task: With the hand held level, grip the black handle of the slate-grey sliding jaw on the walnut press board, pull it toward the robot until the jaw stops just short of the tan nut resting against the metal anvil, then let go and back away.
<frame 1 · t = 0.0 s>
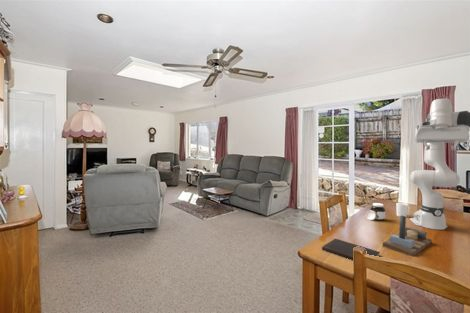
hand: (440, 149, 114), 54 cm above the table, tool tilted 30°, fingers open, 8 cm apart
white cup: (401, 216, 183), on the table
spread jar: (375, 219, 174), on the table
jaw carriage: (402, 230, 125), point 10 cm above the table, slide at 0.0 cm
press board: (407, 244, 130), on the table
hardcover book: (350, 253, 121), on the table
nut: (412, 238, 134), point 2 cm above the table, touching press board
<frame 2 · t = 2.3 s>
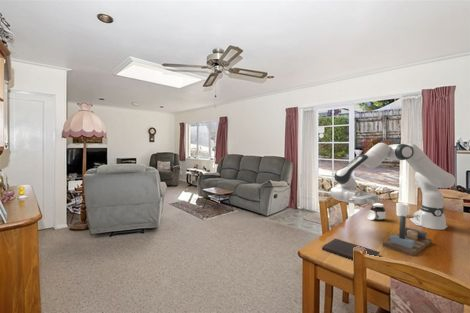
hand: (378, 201, 134), 23 cm above the table, tool horizontal, fingers open, 8 cm apart
nothing on the table moved.
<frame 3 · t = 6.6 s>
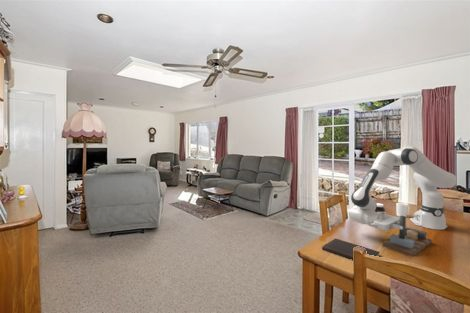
hand: (404, 227, 124), 12 cm above the table, tool horizontal, fingers closed on jaw carriage, 3 cm apart
jaw carriage: (402, 230, 125), point 10 cm above the table, slide at 0.0 cm, touching gripper
everything else where it was.
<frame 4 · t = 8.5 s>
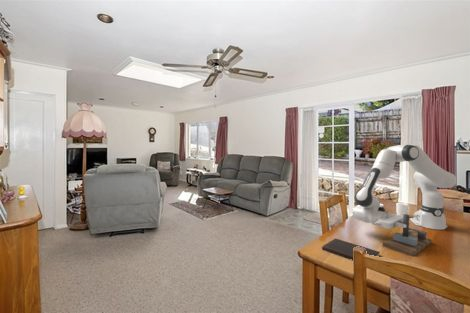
hand: (407, 225, 127), 12 cm above the table, tool horizontal, fingers closed on jaw carriage, 3 cm apart
jaw carriage: (405, 228, 128), point 10 cm above the table, slide at 4.7 cm, touching gripper
everything else where it was.
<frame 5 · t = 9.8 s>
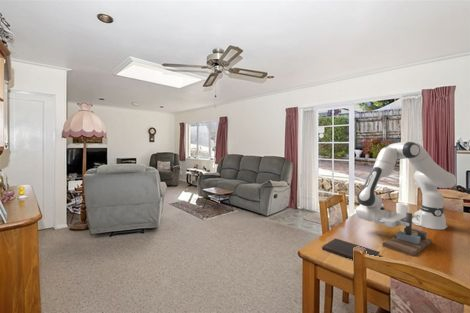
hand: (410, 224, 129), 12 cm above the table, tool horizontal, fingers closed on jaw carriage, 3 cm apart
jaw carriage: (408, 227, 130), point 10 cm above the table, slide at 8.9 cm, touching gripper
everything else where it was.
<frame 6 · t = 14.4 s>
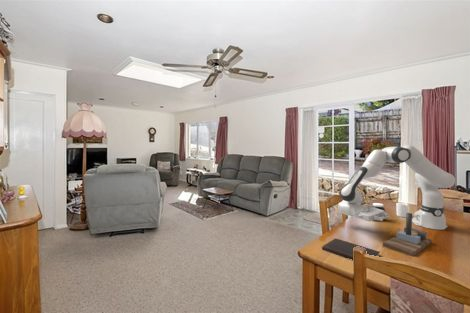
hand: (386, 218, 140), 12 cm above the table, tool horizontal, fingers open, 8 cm apart
jaw carriage: (408, 227, 130), point 10 cm above the table, slide at 9.0 cm
everything else where it was.
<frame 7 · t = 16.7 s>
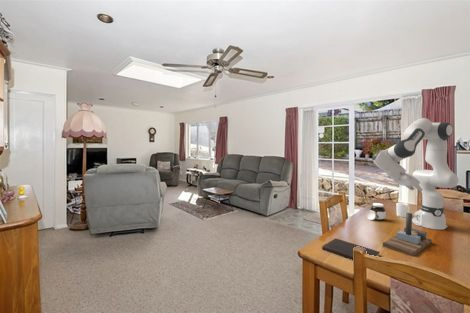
hand: (417, 190, 134), 30 cm above the table, tool tilted 45°, fingers open, 8 cm apart
nothing on the table moved.
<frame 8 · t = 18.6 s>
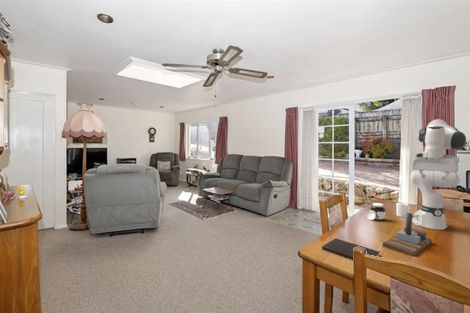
hand: (433, 178, 132), 37 cm above the table, tool pointing down, fingers open, 8 cm apart
nothing on the table moved.
at the end: jaw carriage slide at 9.0 cm; nut moved 0.0 cm from its start; the gripper is holding nothing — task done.
